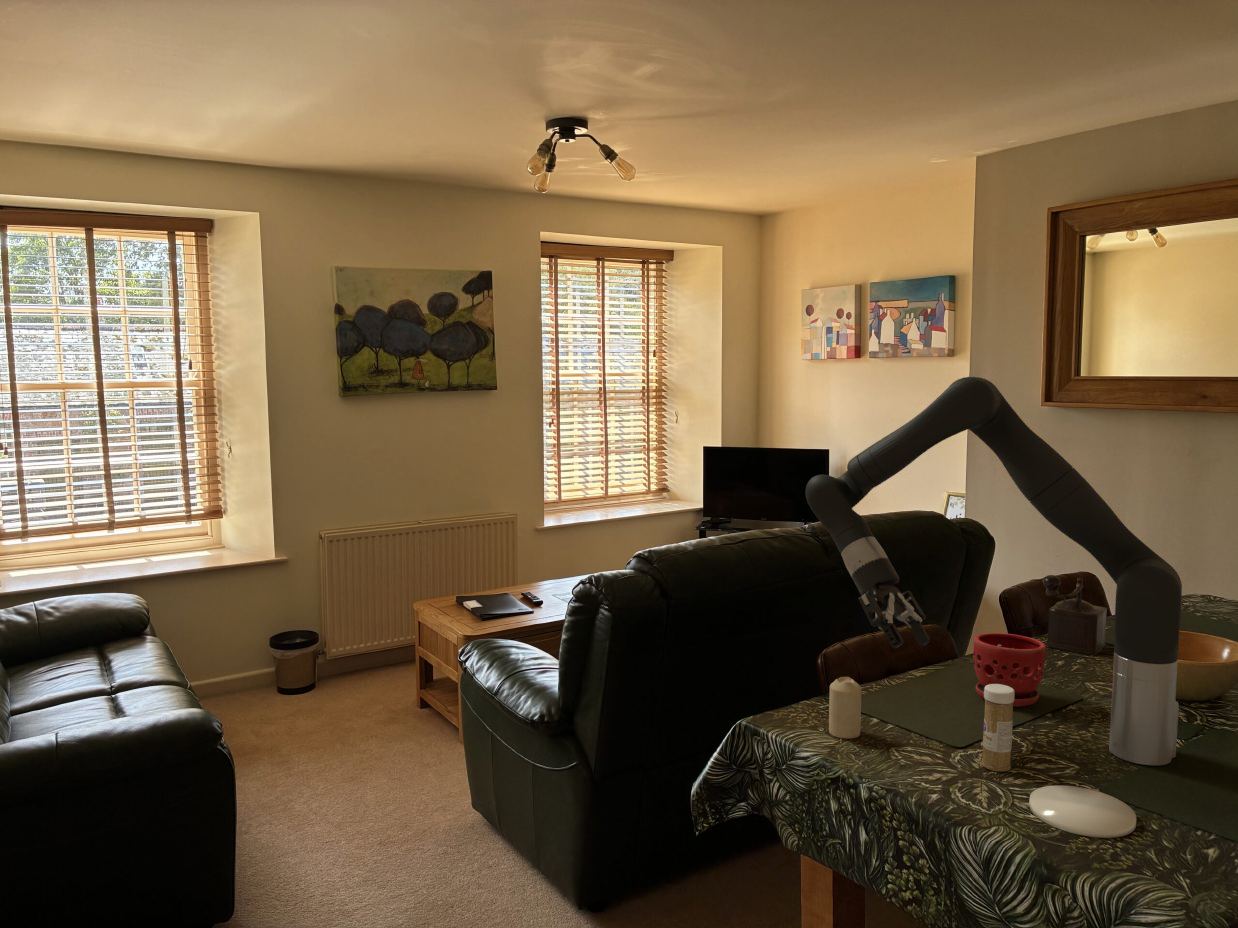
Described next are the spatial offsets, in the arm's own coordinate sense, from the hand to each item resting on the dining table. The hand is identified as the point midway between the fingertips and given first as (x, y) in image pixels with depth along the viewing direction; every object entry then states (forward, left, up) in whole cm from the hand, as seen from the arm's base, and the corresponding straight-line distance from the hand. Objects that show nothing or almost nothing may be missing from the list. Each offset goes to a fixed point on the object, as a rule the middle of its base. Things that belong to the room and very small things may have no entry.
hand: (912, 644), depth 162 cm
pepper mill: (-67, -28, -17) cm, 75 cm away
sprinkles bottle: (-4, +16, -17) cm, 24 cm away
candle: (+11, -5, -17) cm, 20 cm away
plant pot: (-29, -8, -17) cm, 35 cm away
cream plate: (-4, +33, -16) cm, 37 cm away
